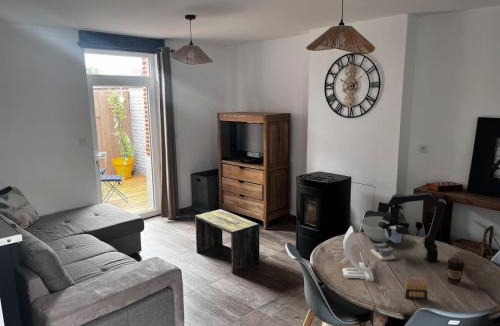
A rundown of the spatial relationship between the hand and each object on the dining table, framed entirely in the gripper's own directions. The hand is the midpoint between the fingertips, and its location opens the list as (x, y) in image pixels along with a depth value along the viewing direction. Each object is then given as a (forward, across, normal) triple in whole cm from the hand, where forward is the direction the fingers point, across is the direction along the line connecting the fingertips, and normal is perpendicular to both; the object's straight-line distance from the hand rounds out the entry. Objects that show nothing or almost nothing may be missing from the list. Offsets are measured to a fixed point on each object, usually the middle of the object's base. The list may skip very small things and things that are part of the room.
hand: (392, 237), depth 235 cm
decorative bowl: (+12, -5, -25) cm, 28 cm away
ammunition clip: (+11, +15, +50) cm, 53 cm away
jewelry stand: (+12, +33, +16) cm, 38 cm away
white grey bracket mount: (+12, +7, +1) cm, 13 cm away
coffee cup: (+11, -15, +39) cm, 43 cm away
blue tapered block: (+1, 0, 0) cm, 1 cm away
